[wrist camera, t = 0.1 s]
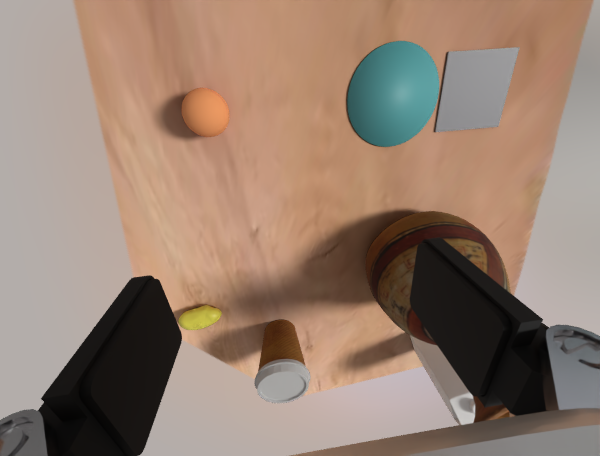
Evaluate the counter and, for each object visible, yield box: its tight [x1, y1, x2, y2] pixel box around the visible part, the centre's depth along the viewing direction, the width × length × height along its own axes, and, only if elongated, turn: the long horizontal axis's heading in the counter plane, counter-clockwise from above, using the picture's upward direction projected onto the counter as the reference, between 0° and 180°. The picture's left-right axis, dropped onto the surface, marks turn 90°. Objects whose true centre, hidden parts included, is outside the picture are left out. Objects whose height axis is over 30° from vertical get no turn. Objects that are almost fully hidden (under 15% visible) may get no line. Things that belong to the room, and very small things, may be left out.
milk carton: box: [410, 335, 475, 425], centre depth 52 cm, size 7×7×19 cm
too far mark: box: [435, 47, 519, 132], centre depth 37 cm, size 10×10×1 cm
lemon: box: [178, 305, 222, 330], centre depth 48 cm, size 4×8×4 cm, turn 97°
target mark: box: [347, 41, 439, 147], centre depth 36 cm, size 13×13×1 cm
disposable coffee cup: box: [255, 320, 310, 403], centre depth 49 cm, size 10×10×12 cm
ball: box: [182, 88, 229, 137], centre depth 32 cm, size 6×6×6 cm
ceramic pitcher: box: [366, 211, 549, 423], centre depth 35 cm, size 20×20×30 cm
